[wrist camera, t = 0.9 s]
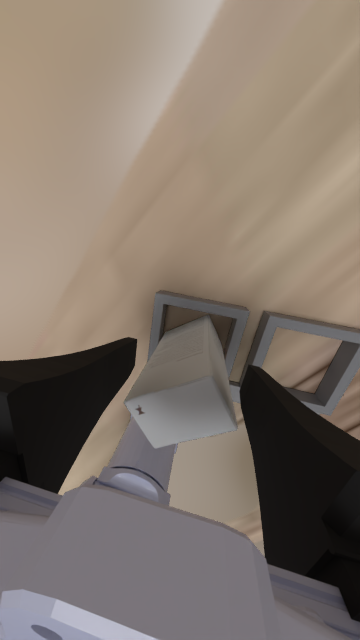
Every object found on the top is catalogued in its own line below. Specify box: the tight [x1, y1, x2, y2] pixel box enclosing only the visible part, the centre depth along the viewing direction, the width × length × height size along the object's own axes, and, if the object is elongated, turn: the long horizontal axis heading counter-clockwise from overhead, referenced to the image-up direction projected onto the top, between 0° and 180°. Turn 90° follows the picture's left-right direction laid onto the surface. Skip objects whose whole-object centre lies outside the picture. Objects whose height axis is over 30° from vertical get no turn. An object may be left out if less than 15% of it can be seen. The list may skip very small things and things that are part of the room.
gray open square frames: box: [147, 290, 360, 416], centre depth 20 cm, size 12×22×2 cm, turn 80°
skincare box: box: [124, 315, 238, 448], centre depth 16 cm, size 6×4×12 cm
